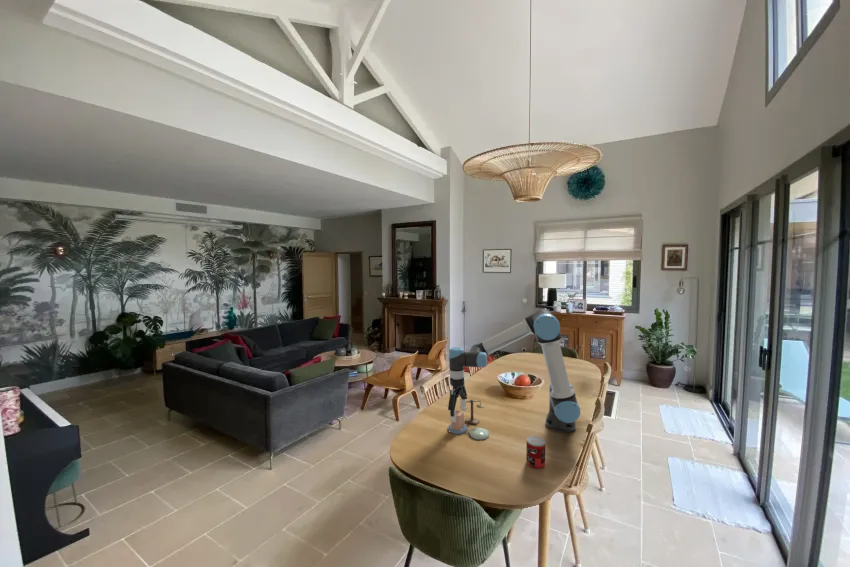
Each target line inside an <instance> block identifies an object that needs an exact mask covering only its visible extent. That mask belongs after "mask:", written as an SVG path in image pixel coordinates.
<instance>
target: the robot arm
mask: <svg viewBox="0 0 850 567" xmlns="http://www.w3.org/2000/svg"><path fill="white" fill-rule="evenodd" d="M529 335H535V338H536V342H537V344H539V345H540V346H541V349H542V353H543V356H544V361H545V366H546V370H547V375H548V378H549V382H550V384H549V388H548V390H549V392H548V393H549V396H548V397H549V398H548V400H549V403H548V404H549V406H548V407H549V408H548V411H547V412H548V413H547V415H546V417H545V425H546V427H547V428H549V429H550V430H552V431H555V432H560V433H571V432H574V431H575V430H576V428H577V423H576V421H578V419H579V418H580V416H581V408H580V405H579V404H578V401H577V400H578V399H577V396H576V392H575V390H574V387H573V385H572V384H571V383H570V381H569V378H568V372H567V369H566V365H565V360H564V356H563V352H562V348H561V347H562V346H561V344H560V341H561V340H562V334H561V325H560V321H559V319H558V318H557V317H556V316H555V315H554V313H552V312H551V311H549V310H546V309H541V310H538V311H536V312H533V313H531V314H530V315H528V316H526V317H524V319H523V320H522V321H521V322H519V323H517V324H514V325H512V326H511V327H509V328H507V329H505V330H504V331H502V332H499V333H497V334H496V335H494V336H492V337H490V338H487V339H486V340H483V341H481V342H479V343H474V344H473V345H472V346H471V348H470V350H469V351H464V349H463V347H461V346H460V347H459V346H455V347H454V346H453V347H451V348H450V349H448V351H449V353H448V360H449V361H448V363H449V364H448V365H449V370H448V371H449V377H450V378H449V385H450V386H452V389H450V390H449V400H448V405H447V410H448V411H449V412H450V413H449V414H450V423H451V422H456V406H457V405H456V404H457V401H458V398H459V397H460V401H459V403H460V404H459V405H460V406H461V408H460V411H461V412H466V411H467V409H466V406H467V405H466V402H465V401H466V400H467V399H468V394H467V389H466V386H465V367H466V368H468V367H469V368H472V367H473V368H486V367H487V365H488V356H489V355H491V354H493V353H495V352H497V351H499V350H501V349H502V348H505V347H506V346H509V345H510V344H512V343H515V342H517V341H519V340H521V339H523V338H525V337H527V336H529ZM460 406H459V407H460Z"/></svg>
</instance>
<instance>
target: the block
mask: <svg viewBox="0 0 850 567" xmlns="http://www.w3.org/2000/svg"><path fill="white" fill-rule="evenodd" d="M455 410H456V409H455ZM464 413H465V411H461V410H456V422H451V421H450V424H451V429H456V430H461V429H462V428H463V427H464V424H465V420H464V417H465V414H464Z"/></svg>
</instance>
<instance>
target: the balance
mask: <svg viewBox="0 0 850 567" xmlns="http://www.w3.org/2000/svg"><path fill="white" fill-rule="evenodd" d="M465 402H466V403H469V404H470V417H469V416H468V417H466V418H465V420H464V423H465V422H467V423H466V424H470V423H471V424H470V425H474V424H475V425H476V426H478V424H479V423H480V419H477V418H474V403H479V404H476V408H478V409H483V408H484V407H485V405H484V404H482V403H481V402H482V401H481V399H475V400H474V399H470V400H465ZM459 408H460V409H461V406H459ZM467 409H468V405H466V410H467ZM475 425H474V426H475Z"/></svg>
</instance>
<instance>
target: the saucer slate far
mask: <svg viewBox="0 0 850 567" xmlns="http://www.w3.org/2000/svg"><path fill="white" fill-rule="evenodd" d="M467 426H468V425H466V424H465V423H464V427H463V428H462V429H461V430H456V429H451V423H450V424H449V425H448V427H447V429H448V432H449V431H450V432H451V433H450V432H449V433H450V434H452V433H454V435H463V433H464V434H465V432H466V431H468V427H467ZM466 433H467V432H466Z"/></svg>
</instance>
